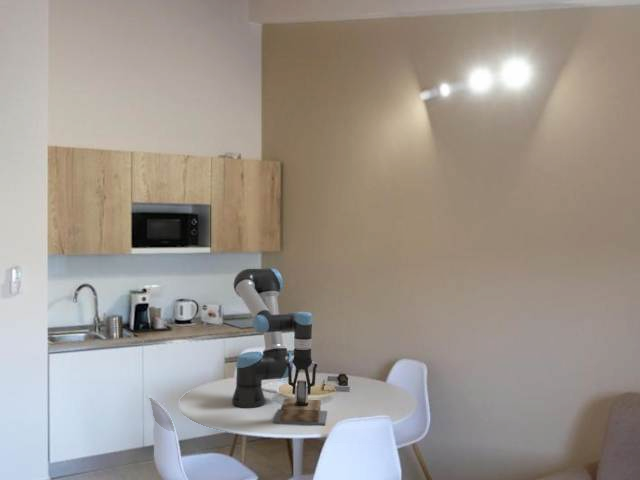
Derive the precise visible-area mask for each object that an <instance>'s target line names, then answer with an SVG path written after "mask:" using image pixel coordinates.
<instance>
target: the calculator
mask: <svg viewBox="0 0 640 480" xmlns="http://www.w3.org/2000/svg"><path fill="white" fill-rule="evenodd" d="M284 384H288V381H287V380H284V379H283V380H282V379H276V380H274V381H272V382H268V383H265V384H261V387H262V391H263V392H269V393H274V394H279V387H280V386H282V385H284Z"/></svg>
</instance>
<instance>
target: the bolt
mask: <svg viewBox="0 0 640 480" xmlns="http://www.w3.org/2000/svg"><path fill="white" fill-rule="evenodd" d="M337 376H338V377H337V380H338V381H337V382H338V386H348V382H347V380H348V378H347V376H348V375H347V374H346V373H339V374H338V375H337Z"/></svg>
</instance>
